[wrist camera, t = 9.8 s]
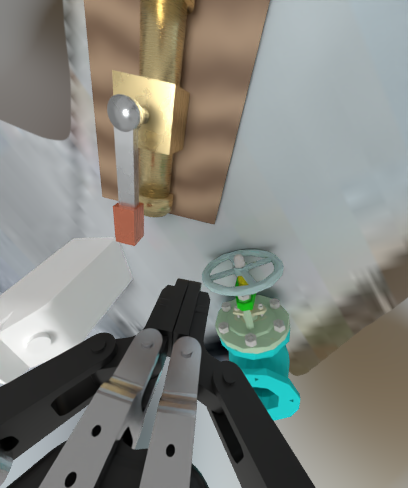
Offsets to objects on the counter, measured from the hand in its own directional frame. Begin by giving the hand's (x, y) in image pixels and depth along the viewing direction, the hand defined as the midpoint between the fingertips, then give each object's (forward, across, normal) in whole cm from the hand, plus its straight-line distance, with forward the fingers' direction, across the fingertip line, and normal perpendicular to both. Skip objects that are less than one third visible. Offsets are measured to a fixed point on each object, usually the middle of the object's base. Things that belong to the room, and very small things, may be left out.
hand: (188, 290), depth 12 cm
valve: (+26, -11, +24) cm, 37 cm away
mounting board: (+26, +10, -8) cm, 29 cm away
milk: (+26, +25, +22) cm, 42 cm away
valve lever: (+14, +10, -2) cm, 18 cm away
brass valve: (+26, +10, -8) cm, 29 cm away
